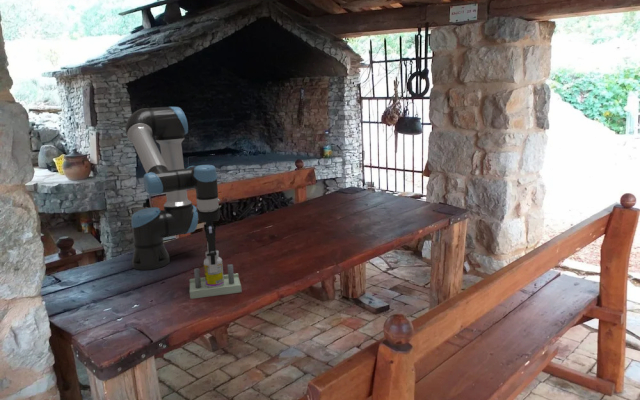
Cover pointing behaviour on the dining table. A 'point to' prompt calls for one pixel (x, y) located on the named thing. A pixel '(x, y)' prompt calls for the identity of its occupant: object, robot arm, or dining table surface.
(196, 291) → the tray
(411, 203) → the dining table surface
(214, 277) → the supplement bottle
